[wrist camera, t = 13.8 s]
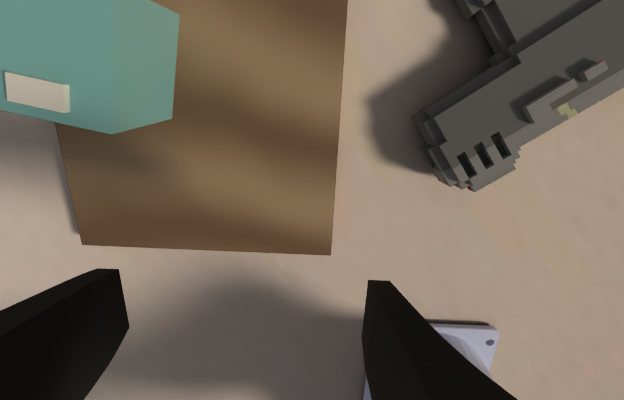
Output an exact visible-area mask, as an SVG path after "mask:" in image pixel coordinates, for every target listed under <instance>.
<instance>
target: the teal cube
mask: <svg viewBox="0 0 624 400" xmlns="http://www.w3.org/2000/svg"><path fill="white" fill-rule="evenodd" d="M179 17H180V15H179V14H177V13H175V12H173V11H171V10H169V9H167V8H165V7H163V6H161V5H159V4H157V3H155V2H152V1H150V0H0V110H2V111H7V112H11V113H16V114H20V115H25V116H30V117H34V118H39V119H43V120H48V121H52V122H57V123H62V124H66V125H71V126H75V127H80V128H84V129H89V130H94V131H98V132H103V133H107V134H115V133H119V132H123V131H127V130H131V129H135V128H139V127H142V126H146V125H150V124H154V123H158V122H162V121H165V120H169V119H172V112H173V98H174V85H175V71H176V58H177V44H178V31H179Z"/></svg>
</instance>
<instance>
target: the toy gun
mask: <svg viewBox="0 0 624 400" xmlns="http://www.w3.org/2000/svg"><path fill="white" fill-rule="evenodd" d="M455 1H456V3H457V5H458V7H459V9H460V11H461V12H462V14H463V16H464V18H465V20H467V19H469V18H470V17H473V16H475V18H476V19H477V21H478V23H479V25H480V27H481V29H482V31H483V32H484V34H485V36H486V38H487V40H488V42H489V44H490V46H491V47H492V49H493V51H494V53H495V54H494V55H492V57H490V58H489V59H487V60H488V62H489V64H490V67H488V68H487V69H485V70H483V71H482V72H480V73H479V74H477V75H476V76H474V77H472V78H471V79H469V80H468V81H466V82H465V83H463V84H461V85H460V86H458V87H457V88H455V89H454V90H452V91H450V92H449V93H447V94H446V95H444V96H443V97H441V98H439V99H438V100H436V101H435V102H433V103H432V104H430V105H428V106H427V107H425V108H424V109H422V110H421V111H419V112H418V113H417V114H415V115H414V116H412V117H413V119H414V121H415V125H416V127H417V129H418V131H419V132H420V134H421V136H422V137H423V139H424V141H425V142H426V143H424V144H425V145H423V146H422V147H420V150H421V152H422V153H423V155H424V157H425V158H426V160H427V162H428V164H429V165H430V167H431V169H432V170H433V172H434V174H435V175H436V177H437V179H438V180H439V181H441V182H442V183H444V184H446V185H448V186H450V187H451V186H453V185H455V186H457V187H459V188H461V189H462V190H463V189H464V188H466V187H467V188H468V189H469V190H471V191H473V192H476V191H478V190H479V189H481V188H483V187H485V186H487V185H488V184H490V183H492V182H494V181H495V180H497V179H499V178H501V177H503V176H504V175H506V174H508V173H510V172H511V171H513V170H515V167H514V165H513V164H514V163H516V161H515V159H517V158H519V157H520V156H519V154H518V151H519V150H520V148H519V147H521V146H522V145H524V144H526V143H528V142H529V141H531V140H533V139H535V138H536V137H538V136H540V135H542V134H543V133H545V132H547V131H549V130H550V129H552V128H554V127H555V126H557V125H559V124H561V123H562V122H564V121H566V120H568V119H569V118H571V117H573V116H575V115H576V114H578V113H580V112H582V111H583V110H585V109H587V108H589V107H590V106H592V105H594V104H595V103H597V102H599V101H601V100H602V99H604V98H606V97H608V96H609V95H611V94H613V93H615V92H616V91H618V90H620V89H622V88H623V87H624V0H455Z"/></svg>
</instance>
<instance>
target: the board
mask: <svg viewBox="0 0 624 400" xmlns="http://www.w3.org/2000/svg"><path fill="white" fill-rule="evenodd" d="M150 1H152V2H155V3H157V4H159V5H161V6H163V7H165V8H167V9H169V10H171V11H173V12H175V13H177V14H179V15H180V17H179V31H178V44H177V58H176V71H175V85H174V98H173V112H172V119H169V120H165V121H162V122H158V123H154V124H150V125H146V126H142V127H139V128H135V129H131V130H127V131H123V132H119V133H115V134H107V133H103V132H98V131H94V130H89V129H84V128H80V127H75V126H71V125H66V124H62V123H57V122H55V125H56V130H57V134H58V139H59V143H60V148H61V152H62V157H63V161H64V166H65V170H66V175H67V179H68V184H69V188H70V193H71V197H72V202H73V206H74V211H75V215H76V220H77V224H78V229H79V233H80V238H81V242H82V245H98V246H121V247H145V248H168V249H192V250H215V251H239V252H262V253H286V254H309V255H331V244H332V229H333V214H334V199H335V184H336V169H337V154H338V139H339V124H340V109H341V94H342V79H343V64H344V49H345V33H346V18H347V3H348V0H150Z"/></svg>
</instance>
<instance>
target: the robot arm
mask: <svg viewBox="0 0 624 400" xmlns="http://www.w3.org/2000/svg"><path fill="white" fill-rule="evenodd" d="M128 329H129V322H128V317H127V311H126V306H125V301H124V295H123V290H122V284H121V279H120V274H119V269H95V270H92V271H89V272H87V273H84V274H82V275H79V276H77V277H74V278H72V279H70V280H67V281H65V282H63V283H61V284H59V285H56V286H54V287H52V288H50V289H47V290H45V291H43V292H41V293H39V294H36V295H34V296H32V297H30V298H28V299H25V300H23V301H21V302H19V303H17V304H14V305H12V306H10V307H8V308H6V309H3V310H1V311H0V400H84V399H85V397H86V396H87V395H88V393H89V392H90V390H91V389H92V388H93V386H94V385H95V383H96V382H97V380H98V379H99V378H100V376H101V375H102V373H103V372H104V371H105V369H106V368H107V366H108V365H109V363H110V362H111V360H112V359H113V357H114V355H115V353H116V351H117V350H118V348H119V346H120V344H121V342H122V340H123V339H124V337H125V335H126V333H127V331H128ZM489 339H490V340H489ZM498 339H499V332H498V330H497V329H496V328H495V327H493V326H480V325H456V324H433V323H428V322H427V321H426V320H425V319H424V318H423V317H422V316H421V315H420V314H419V312H418V311H417V310H416V309H415V308H414V307H413V306H412V305H411V304H410V303H409V302H408V301H407V300H406V298H405V297H404V296H403V295H402V294H401V293H400V292H399V291H398V290H397V288H396V287H395V286H394V285H393V284H392V283H391V282H390V281H379V280H368V287H367V296H366V305H365V313H364V322H363V331H362V344H363V354H364V363H365V371H366V379H365V387H364V395H363V400H517V399H516V398H515V397H513V396H512V395H511V394H509V393H508V392H507V391H505V390H504V389H503V388H502V387H500V386H499V385H498V384H497V383H495V381H494V380H493V378H492V376H491V374H490V373H489V370H490V366H491V363H492V359H493V356H494V353H495V349H496V346H497V342H498ZM487 340H489V341H487Z"/></svg>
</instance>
